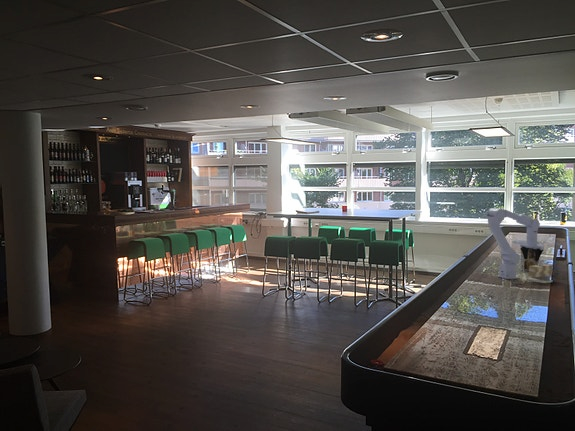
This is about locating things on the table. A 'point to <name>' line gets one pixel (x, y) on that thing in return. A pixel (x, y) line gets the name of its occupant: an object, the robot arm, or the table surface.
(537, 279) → the balance stand
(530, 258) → the coffee box
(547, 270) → the ash beam
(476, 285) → the table surface
